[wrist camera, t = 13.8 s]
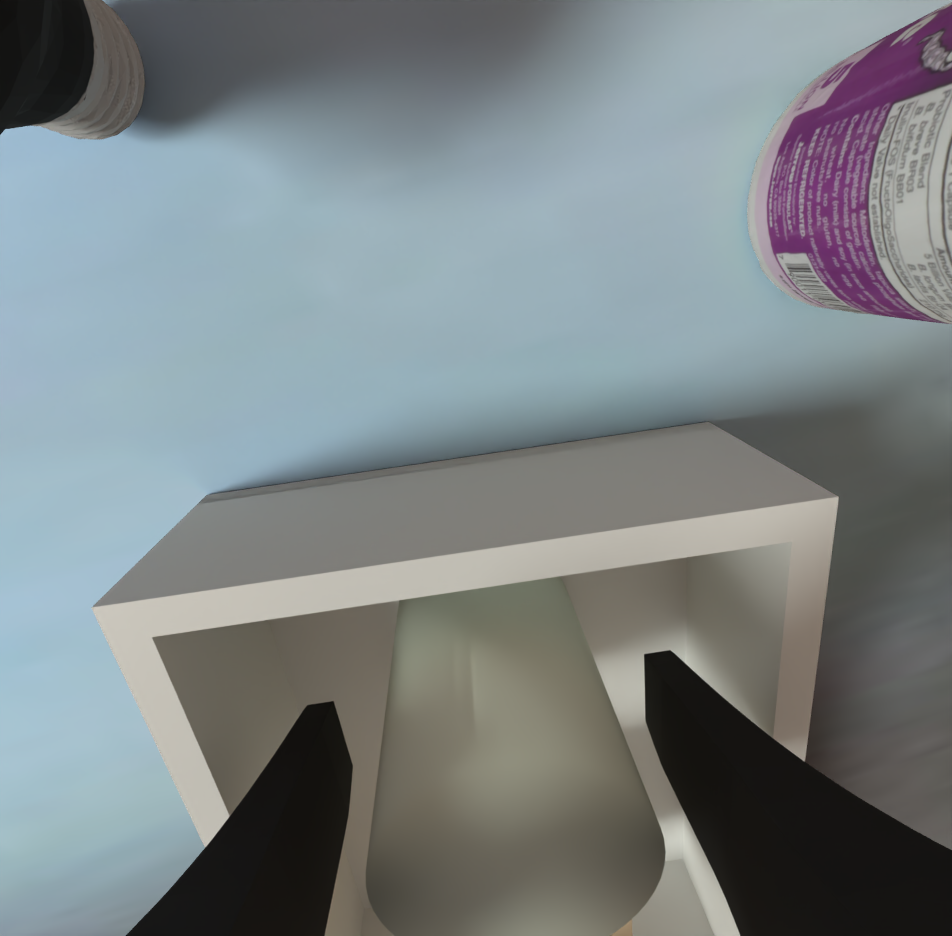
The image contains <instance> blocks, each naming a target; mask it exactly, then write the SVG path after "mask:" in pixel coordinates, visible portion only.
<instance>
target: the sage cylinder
mask: <svg viewBox="0 0 952 936" xmlns="http://www.w3.org/2000/svg"><path fill="white" fill-rule="evenodd" d="M665 854H666V851H665V841H664V837H663V834H662V831H661V827H660V825H659V822H658V820H657V817H656V815H655V812H654V810H653V807H652V804H651V802H650V799H649V797H648V794H647V792H646V789H645V787H644V784H643V782H642V779H641V777H640V774H639V772H638V769H637V766H636V764H635V761H634V759H633V756H632V754H631V751H630V749H629V746H628V744H627V741H626V739H625V736H624V734H623V731H622V728H621V726H620V723H619V721H618V718H617V716H616V713H615V711H614V708H613V706H612V703H611V701H610V698H609V696H608V693H607V690H606V688H605V685H604V683H603V680H602V678H601V675H600V673H599V670H598V668H597V665H596V663H595V660H594V658H593V655H592V652H591V650H590V647H589V645H588V642H587V640H586V637H585V635H584V632H583V630H582V627H581V625H580V622H579V620H578V617H577V615H576V612H575V609H574V607H573V604H572V602H571V599H570V597H569V594H568V592H567V589H566V587H565V584H564V582H563V581H562V579H561V577H560V576H559V577H552V578H545V579H539V580H532V581H525V582H518V583H512V584H505V585H498V586H492V587H485V588H478V589H472V590H465V591H458V592H451V593H445V594H438V595H431V596H425V597H418V598H411V599H405V600H400V601H399V606H398V613H397V621H396V629H395V637H394V645H393V653H392V661H391V670H390V678H389V686H388V694H387V702H386V710H385V718H384V727H383V735H382V743H381V751H380V759H379V767H378V776H377V784H376V792H375V800H374V808H373V816H372V824H371V833H370V841H369V849H368V857H367V865H366V890H367V895H368V899H369V902H370V904H371V906H372V909H373V911H374V913H375V914H376V916H377V917H378V918H379V920H380V921H381V923H382V924H383V925H384V926H385V927H386V928H387V929H388V930H389V931H390V932H391V933H392V934H393V935H394V936H610V935H612V934H613V933H615V932H616V931H617V930H619V929H620V928H622V927H623V926H624V925H626V924H627V923H628V922H629V921H630V920H631V919H632V918H633V917H635V916H636V915H637V914H638V913H639V911H640V910H641V909H642V908H643V907H644V906H645V905H646V903H647V902H648V901H649V899H650V898H651V896H652V895H653V893H654V892H655V890H656V888H657V886H658V883H659V881H660V879H661V876H662V873H663V869H664V865H665Z"/></svg>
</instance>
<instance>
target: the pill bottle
mask: <svg viewBox="0 0 952 936" xmlns="http://www.w3.org/2000/svg"><path fill="white" fill-rule="evenodd" d="M747 220H748V232H749V236H750V240H751V243H752V246H753V249H754V251H755V253H756V256H757V258H758V259H759V263H760V267H761V269H762V271H763V272H764V273H765V275H766V276H767V277H768V278H769V279H770V280H771V281H772V282H773V283H774V285H776V286H777V287H778V288H779V289H780V290H781V291H783V292H784V293H786V294H787V295H789V296H790V297H792V298H793V299H795V300H798V301H801V302H803V303H806V304H809V305H812V306H815V307H821V308H828V309H835V310H842V311H848V312H854V313H861V314H873V315H881V316H889V317H897V318H904V319H912V320H921V321H929V322H936V323H946V324H952V3H950V4H947V5H945V6H943V7H941V8H939V9H937V10H935V11H934V12H932V13H930V14H928V15H926V16H924V17H922V18H920V19H918V20H917V21H915V22H913V23H911V24H909V25H907V26H905V27H903V28H901V29H900V30H898V31H896V32H894V33H892V34H890V35H888V36H886V37H884V38H882V39H881V40H879V41H877V42H875V43H874V44H872V45H870V46H868V47H866V48H865V49H863V50H861V51H858V52H856V53H854V54H853V55H851V56H849V57H848V58H846V59H844V60H843V61H841V62H839V63H837V64H836V65H834V66H833V67H831V68H830V69H828V70H827V71H825V72H824V73H823V74H821V75H820V76H819V77H817V78H816V79H815V80H814V81H812V82H811V83H810V84H809V85H808V86H807V87H805V88H804V89H803V90H802V91H801V92H800V93H798V94H797V96H796V97H795V99H794V100H793V101H792V102H791V103H790V104H789V106H788V107H787V109H786V110H785V111H784V113H783V114H782V115H781V116H780V117H779V119H778V120H777V122H776V123H775V124H774V126H773V128H772V129H771V131H770V133H769V135H768V137H767V138H766V141H765V143H764V145H763V147H762V149H761V151H760V154H759V156H758V159H757V161H756V164H755V168H754V171H753V175H752V179H751V185H750V191H749V195H748V206H747Z"/></svg>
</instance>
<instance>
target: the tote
mask: <svg viewBox="0 0 952 936" xmlns="http://www.w3.org/2000/svg"><path fill="white" fill-rule="evenodd" d="M838 500H839V496H837V495H835V494H833V493H832V492H830V491H828V490H826V489H825V488H823V487H821V486H819V485H818V484H816V483H814V482H812V481H811V480H809V479H807V478H806V477H804V476H802V475H800V474H799V473H797V472H795V471H793V470H792V469H790V468H788V467H786V466H785V465H783V464H781V463H779V462H778V461H776V460H774V459H773V458H771V457H769V456H767V455H766V454H764V453H762V452H760V451H759V450H757V449H755V448H753V447H752V446H750V445H748V444H746V443H745V442H743V441H741V440H740V439H738V438H736V437H734V436H733V435H731V434H729V433H727V432H726V431H724V430H722V429H720V428H719V427H717V426H715V425H713V424H712V423H710V422H703V423H696V424H689V425H682V426H675V427H669V428H662V429H655V430H648V431H641V432H634V433H627V434H621V435H614V436H607V437H600V438H593V439H586V440H580V441H573V442H566V443H559V444H552V445H545V446H539V447H532V448H525V449H518V450H511V451H504V452H498V453H491V454H484V455H477V456H470V457H463V458H457V459H450V460H443V461H436V462H429V463H422V464H415V465H409V466H402V467H395V468H388V469H381V470H374V471H368V472H361V473H354V474H347V475H340V476H333V477H327V478H320V479H313V480H306V481H299V482H292V483H286V484H279V485H272V486H265V487H258V488H251V489H245V490H238V491H231V492H224V493H217V494H210V495H206V496H205V497H204V498H203V499H202V500H201V501H200V502H199V503H198V504H197V505H196V506H195V507H194V508H193V509H192V510H191V511H190V512H189V513H188V514H187V515H186V516H185V517H184V518H183V519H182V520H181V521H180V522H179V523H178V524H177V525H176V526H175V527H174V528H172V529H171V530H170V531H169V532H168V533H167V534H166V535H165V536H164V537H163V538H162V539H161V540H160V541H159V542H158V543H157V544H156V545H155V546H154V547H153V548H152V549H151V550H150V551H149V552H148V553H147V554H146V555H145V556H144V557H143V558H142V559H141V560H140V561H139V562H138V563H137V564H136V565H135V566H134V567H133V568H132V569H131V570H129V571H128V572H127V573H126V574H125V575H124V576H123V577H122V578H121V579H120V580H119V581H118V582H117V583H116V584H115V585H114V586H113V587H112V588H111V589H110V590H109V591H108V592H107V593H106V594H105V595H104V596H103V597H102V598H101V599H100V600H99V601H98V602H97V603H96V604H95V605H94V606H93V607H92V610H93V612H94V614H95V616H96V618H97V620H98V623H99V625H100V627H101V629H102V631H103V633H104V635H105V637H106V639H107V642H108V644H109V646H110V648H111V650H112V652H113V654H114V656H115V658H116V661H117V663H118V665H119V667H120V669H121V671H122V673H123V675H124V677H125V680H126V682H127V684H128V686H129V688H130V690H131V692H132V694H133V696H134V699H135V701H136V703H137V705H138V707H139V709H140V711H141V713H142V715H143V718H144V720H145V722H146V724H147V726H148V728H149V730H150V732H151V734H152V737H153V739H154V741H155V743H156V745H157V747H158V749H159V751H160V753H161V756H162V758H163V760H164V762H165V764H166V766H167V768H168V770H169V772H170V775H171V777H172V779H173V781H174V783H175V785H176V787H177V789H178V791H179V793H180V796H181V798H182V800H183V802H184V804H185V806H186V808H187V810H188V812H189V815H190V817H191V819H192V821H193V823H194V825H195V827H196V829H197V831H198V834H199V836H200V838H201V840H202V842H203V844H204V846H205V847H206V846H207V845H208V844H209V842H210V841H211V840H212V839H213V837H214V836H215V835H216V834H217V832H218V831H219V830H220V828H221V827H222V826H223V824H224V823H225V822H226V820H227V819H228V818H229V816H230V815H231V814H232V813H233V811H234V810H235V809H236V807H237V806H238V805H239V803H240V802H241V801H242V799H243V798H244V797H245V795H246V794H247V792H248V791H249V790H250V788H251V787H252V785H253V784H254V782H255V781H256V780H257V778H258V777H259V775H260V774H261V772H262V771H263V770H264V768H265V767H266V765H267V764H268V762H269V761H270V760H271V758H272V757H273V755H274V754H275V752H276V751H277V749H278V748H279V746H280V745H281V743H282V742H283V740H284V739H285V737H286V736H287V734H288V733H289V731H290V729H291V728H292V726H293V725H294V723H295V722H296V720H297V719H298V717H299V716H300V714H301V713H302V711H303V710H304V709H305V707H306V706H307V705H311V704H317V703H324V702H330V701H334V704H335V707H336V710H337V714H338V717H339V721H340V724H341V727H342V731H343V734H344V737H345V741H346V744H347V747H348V751H349V754H350V758H351V761H352V764H353V772H352V785H351V796H350V806H349V816H348V821H347V826H346V831H345V836H344V842H343V847H342V852H341V857H340V862H339V867H338V872H337V877H336V882H335V886H334V891H333V896H332V901H331V906H330V911H329V916H328V921H327V926H326V931H325V936H394V935H393V934H392V933H391V932H390V931H389V930H388V929H387V928H386V927H385V926H384V925H383V924H382V923H381V921H380V920H379V918H378V917H377V916H376V914H375V913H374V911H373V909H372V906H371V904H370V902H369V899H368V895H367V890H366V865H367V857H368V849H369V841H370V833H371V824H372V816H373V808H374V800H375V792H376V784H377V776H378V767H379V759H380V751H381V743H382V735H383V727H384V718H385V710H386V702H387V694H388V686H389V678H390V670H391V661H392V653H393V645H394V637H395V629H396V621H397V613H398V606H399V601H400V600H405V599H411V598H418V597H425V596H431V595H438V594H445V593H451V592H458V591H465V590H472V589H478V588H485V587H492V586H498V585H505V584H512V583H518V582H525V581H532V580H539V579H545V578H552V577H559V576H560V577H561V579H562V581H563V582H564V584H565V587H566V589H567V592H568V594H569V597H570V599H571V602H572V604H573V607H574V609H575V612H576V615H577V617H578V620H579V622H580V625H581V627H582V630H583V632H584V635H585V637H586V640H587V642H588V645H589V647H590V650H591V652H592V655H593V658H594V660H595V663H596V665H597V668H598V670H599V673H600V675H601V678H602V680H603V683H604V685H605V688H606V690H607V693H608V696H609V698H610V701H611V703H612V706H613V708H614V711H615V713H616V716H617V718H618V721H619V723H620V726H621V728H622V731H623V734H624V736H625V739H626V741H627V744H628V746H629V749H630V751H631V754H632V756H633V759H634V761H635V764H636V766H637V769H638V772H639V774H640V777H641V779H642V782H643V784H644V787H645V789H646V792H647V794H648V797H649V799H650V802H651V804H652V807H653V810H654V812H655V815H656V817H657V820H658V822H659V825H660V827H661V831H662V834H663V837H664V841H665V851H666V854H665V865H664V869H663V873H662V876H661V879H660V881H659V883H658V886H657V888H656V890H655V892H654V893H653V895H652V896H651V898H650V899H649V901H648V902H647V903H646V905H645V906H644V907H643V908H642V909H641V910H640V911H639V913H638V914H637V915H636V916H635V917H633V918H632V935H633V936H740V933H739V931H738V928H737V926H736V923H735V921H734V918H733V916H732V913H731V911H730V908H729V906H728V903H727V901H726V898H725V896H724V894H723V892H722V889H721V887H720V885H719V883H718V880H717V878H716V876H715V874H714V872H713V870H712V868H711V866H710V864H709V862H708V859H707V857H706V855H705V853H704V851H703V849H702V847H701V845H700V843H699V841H698V839H697V837H696V835H695V833H694V831H693V829H692V827H691V825H690V823H689V821H688V819H687V817H686V815H685V813H684V811H683V809H682V807H681V805H680V803H679V801H678V799H677V797H676V795H675V793H674V790H673V788H672V786H671V784H670V782H669V780H668V778H667V776H666V774H665V772H664V770H663V768H662V765H661V763H660V760H659V757H658V755H657V752H656V749H655V747H654V744H653V741H652V738H651V735H650V733H649V730H648V727H647V724H646V721H645V677H644V654H648V653H654V652H661V651H667V650H671V651H672V652H673V653H675V654H676V655H677V656H678V657H679V658H680V659H681V660H682V661H683V662H684V663H686V664H687V665H688V666H689V667H690V668H691V669H692V670H693V671H694V672H695V673H696V674H697V675H699V676H700V677H701V678H702V679H703V680H704V681H705V682H706V683H707V684H709V685H710V686H711V687H712V688H713V689H714V690H715V691H716V692H718V693H719V694H720V695H721V696H722V697H723V698H725V699H726V700H727V701H728V702H729V703H730V704H732V705H733V706H734V707H735V708H736V709H738V710H739V711H740V712H741V713H742V714H744V715H745V716H746V717H747V718H748V719H750V720H751V721H752V722H753V723H754V724H756V725H757V726H758V727H759V728H761V729H762V730H763V731H764V732H766V733H767V734H768V735H770V736H771V737H772V738H773V739H775V740H776V741H777V742H779V743H780V744H781V745H783V746H784V747H785V748H787V749H788V750H789V751H791V752H792V753H793V754H795V755H796V756H797V757H799V758H800V759H802V760H803V761H804V762H805V757H806V749H807V742H808V734H809V726H810V718H811V710H812V703H813V695H814V687H815V679H816V671H817V664H818V656H819V648H820V640H821V633H822V625H823V617H824V609H825V601H826V594H827V586H828V578H829V570H830V562H831V555H832V547H833V539H834V531H835V523H836V516H837V508H838Z"/></svg>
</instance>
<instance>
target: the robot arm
mask: <svg viewBox="0 0 952 936" xmlns="http://www.w3.org/2000/svg"><path fill="white" fill-rule="evenodd" d="M644 677H645V721H646V724H647V727H648V730H649V733H650V735H651V738H652V741H653V744H654V747H655V749H656V752H657V755H658V757H659V760H660V763H661V765H662V768H663V770H664V772H665V774H666V776H667V778H668V780H669V782H670V784H671V786H672V788H673V790H674V793H675V795H676V797H677V799H678V801H679V803H680V805H681V807H682V809H683V811H684V813H685V815H686V817H687V819H688V821H689V823H690V825H691V827H692V829H693V831H694V833H695V835H696V837H697V839H698V841H699V843H700V845H701V847H702V849H703V851H704V853H705V855H706V857H707V859H708V862H709V864H710V866H711V868H712V870H713V872H714V874H715V876H716V878H717V880H718V883H719V885H720V887H721V889H722V892H723V894H724V896H725V898H726V901H727V903H728V906H729V908H730V911H731V913H732V916H733V918H734V921H735V923H736V926H737V928H738V931H739V933H740V936H952V850H950V849H948V848H946V847H944V846H942V845H940V844H939V843H937V842H935V841H933V840H931V839H929V838H927V837H926V836H924V835H922V834H920V833H918V832H917V831H915V830H913V829H911V828H909V827H908V826H906V825H904V824H903V823H901V822H899V821H897V820H896V819H894V818H892V817H891V816H889V815H887V814H885V813H884V812H882V811H880V810H879V809H877V808H875V807H873V806H872V805H870V804H868V803H867V802H865V801H863V800H862V799H860V798H859V797H857V796H855V795H854V794H852V793H851V792H849V791H847V790H846V789H844V788H843V787H841V786H840V785H838V784H837V783H835V782H834V781H832V780H831V779H829V778H828V777H826V776H825V775H823V774H822V773H820V772H819V771H817V770H816V769H814V768H813V767H811V766H810V765H809V764H807V763H806V762H804V761H803V760H802V759H800V758H799V757H797V756H796V755H795V754H793V753H792V752H791V751H789V750H788V749H787V748H785V747H784V746H783V745H781V744H780V743H779V742H777V741H776V740H775V739H773V738H772V737H771V736H770V735H768V734H767V733H766V732H764V731H763V730H762V729H761V728H759V727H758V726H757V725H756V724H754V723H753V722H752V721H751V720H750V719H748V718H747V717H746V716H745V715H744V714H742V713H741V712H740V711H739V710H738V709H736V708H735V707H734V706H733V705H732V704H730V703H729V702H728V701H727V700H726V699H725V698H723V697H722V696H721V695H720V694H719V693H718V692H716V691H715V690H714V689H713V688H712V687H711V686H710V685H709V684H707V683H706V682H705V681H704V680H703V679H702V678H701V677H700V676H699V675H697V674H696V673H695V672H694V671H693V670H692V669H691V668H690V667H689V666H688V665H687V664H686V663H684V662H683V661H682V660H681V659H680V658H679V657H678V656H677V655H676V654H675V653H673V652H672V651H671V650H667V651H661V652H654V653H648V654H644ZM352 772H353V764H352V761H351V758H350V754H349V751H348V747H347V744H346V741H345V737H344V734H343V731H342V727H341V724H340V721H339V717H338V714H337V710H336V707H335V704H334V701H330V702H324V703H317V704H311V705H307V706H306V707H305V709H304V710H303V711H302V713H301V714H300V716H299V717H298V719H297V720H296V722H295V723H294V725H293V726H292V728H291V729H290V731H289V733H288V734H287V736H286V737H285V739H284V740H283V742H282V743H281V745H280V746H279V748H278V749H277V751H276V752H275V754H274V755H273V757H272V758H271V760H270V761H269V762H268V764H267V765H266V767H265V768H264V770H263V771H262V772H261V774H260V775H259V777H258V778H257V780H256V781H255V782H254V784H253V785H252V787H251V788H250V790H249V791H248V792H247V794H246V795H245V797H244V798H243V799H242V801H241V802H240V803H239V805H238V806H237V807H236V809H235V810H234V811H233V813H232V814H231V815H230V816H229V818H228V819H227V820H226V822H225V823H224V824H223V826H222V827H221V828H220V830H219V831H218V832H217V834H216V835H215V836H214V837H213V839H212V840H211V841H210V842H209V844H208V845H207V846H206V847H205V849H204V850H203V851H202V852H201V853H200V855H199V856H198V857H197V858H196V859H195V861H194V862H193V863H192V864H191V865H190V867H189V868H188V869H187V870H186V871H185V872H184V874H183V875H182V876H181V877H180V878H179V879H178V880H177V882H176V883H175V884H174V885H173V886H172V887H171V888H170V890H169V891H168V892H167V893H166V894H165V895H164V896H163V897H162V898H161V899H160V900H159V902H158V903H157V904H156V905H155V906H154V907H153V908H152V909H151V910H150V911H149V912H148V913H147V914H146V915H145V916H144V917H143V918H142V919H141V920H140V921H139V922H138V924H137V925H136V926H135V927H134V928H133V929H132V930H131V931H130V932H129V933H128V934H127V935H126V936H325V931H326V926H327V921H328V916H329V911H330V906H331V901H332V896H333V891H334V886H335V882H336V877H337V872H338V867H339V862H340V857H341V852H342V847H343V842H344V836H345V831H346V826H347V821H348V816H349V806H350V796H351V785H352Z"/></svg>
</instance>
